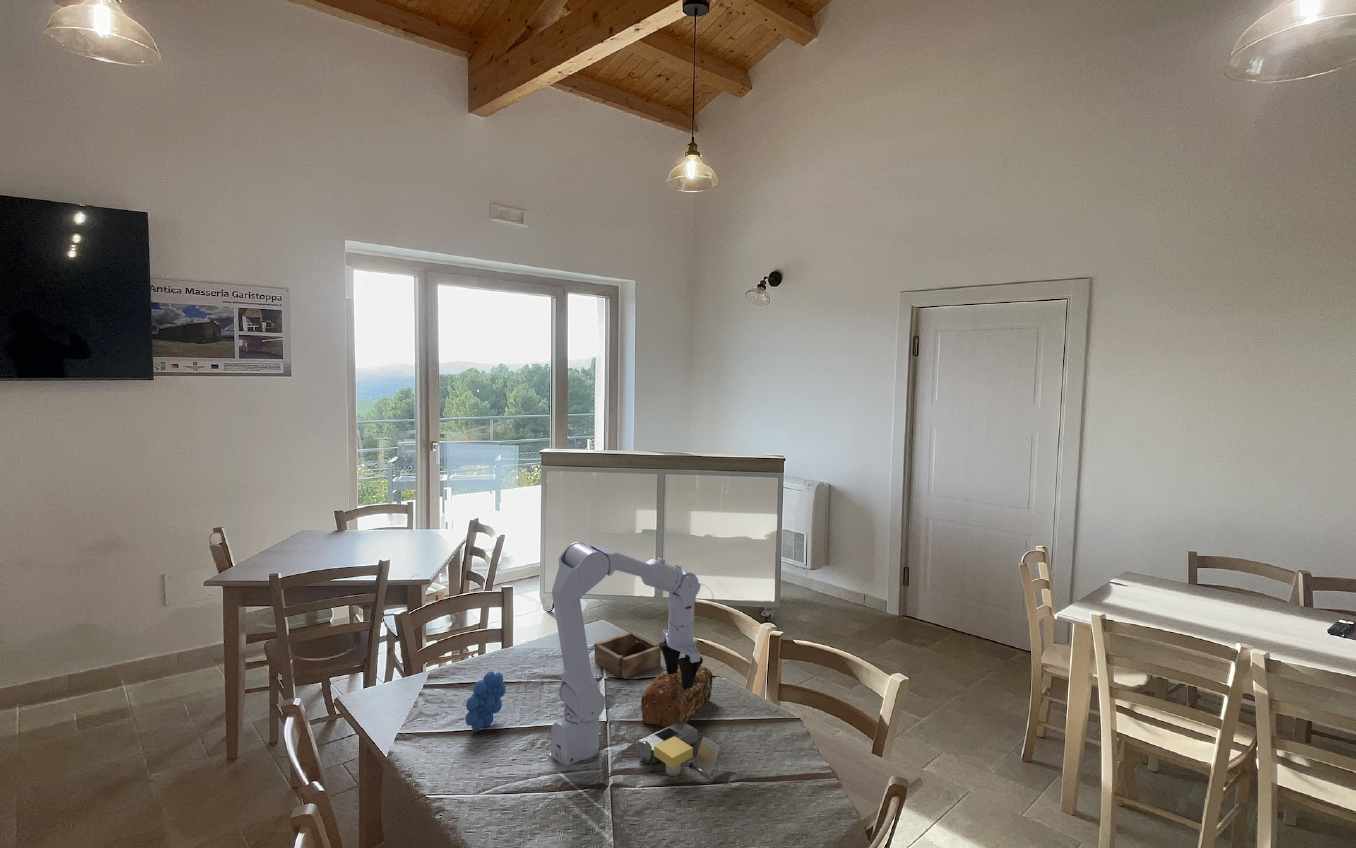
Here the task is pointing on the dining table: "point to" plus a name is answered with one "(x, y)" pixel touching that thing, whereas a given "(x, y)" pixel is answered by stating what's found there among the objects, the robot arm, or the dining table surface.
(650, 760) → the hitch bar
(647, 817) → the dining table surface
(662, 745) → the pale yellow block
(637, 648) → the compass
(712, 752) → the plate
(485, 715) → the grapes
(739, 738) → the dining table surface
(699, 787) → the dining table surface
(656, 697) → the bread
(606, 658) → the open wooden box
